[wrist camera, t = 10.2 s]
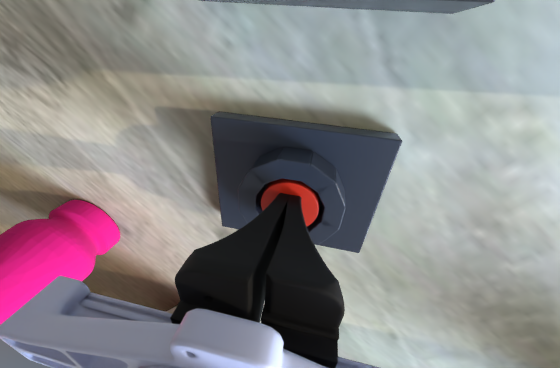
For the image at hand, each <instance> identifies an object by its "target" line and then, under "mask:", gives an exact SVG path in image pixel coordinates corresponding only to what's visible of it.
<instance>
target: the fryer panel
mask: <svg viewBox="0 0 560 368" xmlns="http://www.w3.org/2000/svg"><path fill="white" fill-rule="evenodd" d="M200 1H215V2H235V3H254V4H274V5H293V6H313V7H332V8H352V9H371V10H391V11H410V12H430V13H449V14H453V13H456V12H460V11H464V10H467V9H471V8H474V7H478V6H482V5H485V4H489V3H492V2H494V1H495V0H200Z"/></svg>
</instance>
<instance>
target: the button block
mask: <svg viewBox="0 0 560 368" xmlns="http://www.w3.org/2000/svg"><path fill="white" fill-rule="evenodd" d="M211 126H212V135H213V145H214V154H215V163H216V172H217V182H218V191H219V200H220V210H221V219H222V226H225V227H230V228H235V229H241V228H242V227H244V226H245V225H246V224H248V223H249V222H250V221H252V220H253V219H254V218H255V217H257V216H258V215H259V214H260V213H261V212H262V211H263V210H262V207H261V198H262V195H263V193H264V191H265V189H266V187H267V185H268V183H269V182H272V181H275V180H278V179H281V178H283V179H290V180H296V181H302V182H303V183H305V184H306V185H308V186H309V187H311V188H312V189H313V190H315V191H316V192H317V193H318V195H319V197H320V201H319V212H318V215H317V218H316V219H315V220H314V222H313V223H311V224H310V225H309V226H307V229H308V232H309V235H310V237H311V239H312V241H313V244H316V245H321V246H326V247H331V248H336V249H341V250H346V251H351V252H356V253H359V252H360V250H361V247H362V244H363V242H364V239H365V237H366V234H367V231H368V229H369V226H370V224H371V221H372V218H373V216H374V213H375V211H376V208H377V205H378V203H379V200H380V198H381V195H382V192H383V190H384V187H385V185H386V182H387V179H388V177H389V174H390V172H391V169H392V166H393V164H394V161H395V159H396V156H397V153H398V151H399V148H400V146H401V143H402V140H401V138H400V137H399V136H398V134H396V133H388V132H380V131H372V130H364V129H356V128H347V127H339V126H331V125H323V124H315V123H307V122H299V121H291V120H282V119H274V118H266V117H258V116H250V115H242V114H234V113H226V112H217V113H216V114H214V115H212V116H211Z"/></svg>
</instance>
